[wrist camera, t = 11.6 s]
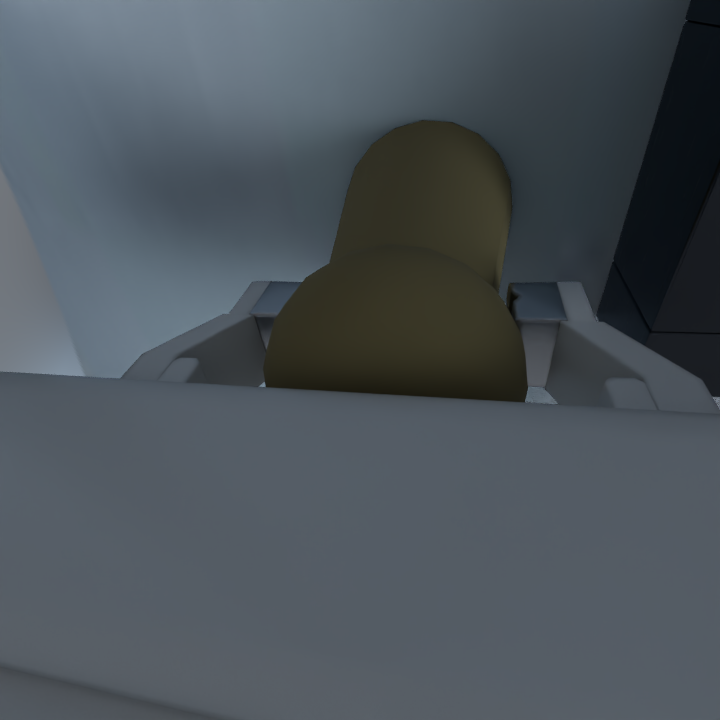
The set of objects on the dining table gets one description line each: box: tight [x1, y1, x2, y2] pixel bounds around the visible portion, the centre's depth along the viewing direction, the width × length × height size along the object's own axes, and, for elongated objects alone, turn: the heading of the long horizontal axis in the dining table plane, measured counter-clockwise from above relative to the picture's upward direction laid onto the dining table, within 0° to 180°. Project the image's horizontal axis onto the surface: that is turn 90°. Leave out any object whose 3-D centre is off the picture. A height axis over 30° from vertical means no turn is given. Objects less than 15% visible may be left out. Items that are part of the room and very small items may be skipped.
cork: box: [263, 120, 528, 402], centre depth 12 cm, size 6×6×11 cm
